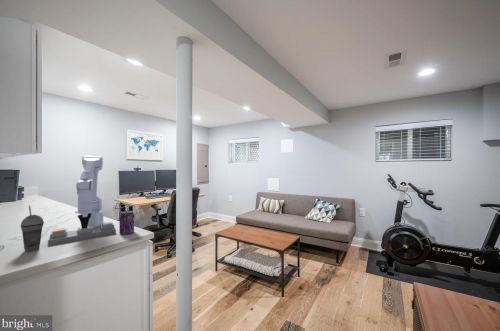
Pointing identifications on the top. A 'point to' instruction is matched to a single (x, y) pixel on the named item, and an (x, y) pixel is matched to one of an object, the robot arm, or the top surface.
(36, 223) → the beverage cup
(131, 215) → the beverage can
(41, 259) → the top surface
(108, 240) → the top surface
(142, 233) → the top surface
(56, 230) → the terracotta button
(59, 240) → the button panel
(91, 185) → the robot arm
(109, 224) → the slate button
